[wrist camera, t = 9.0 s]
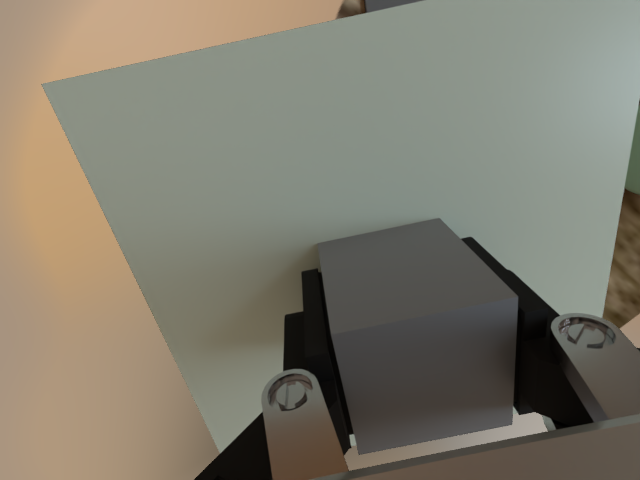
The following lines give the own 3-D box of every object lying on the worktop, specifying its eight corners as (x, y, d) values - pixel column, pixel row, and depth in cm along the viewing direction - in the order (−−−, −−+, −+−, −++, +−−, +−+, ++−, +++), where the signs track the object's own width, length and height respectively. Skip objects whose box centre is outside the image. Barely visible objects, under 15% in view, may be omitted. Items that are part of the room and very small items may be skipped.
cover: (422, 26, 26) (969, -151, 5) (435, 230, 33) (690, 513, 12) (201, 74, 26) (-151, 95, 5) (260, 266, 33) (207, 605, 12)
